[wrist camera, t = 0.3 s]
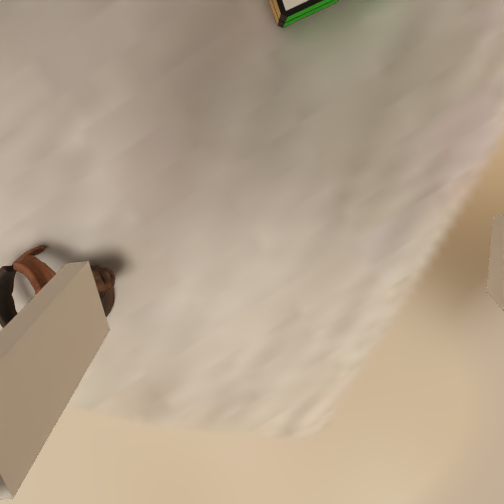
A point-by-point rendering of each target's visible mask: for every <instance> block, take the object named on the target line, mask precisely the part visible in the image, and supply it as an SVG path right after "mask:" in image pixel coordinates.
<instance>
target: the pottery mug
mask: <svg viewBox="0 0 504 504" xmlns="http://www.w3.org/2000/svg"><path fill="white" fill-rule="evenodd" d="M44 249H45V246H41V247H37V248H34V249H32V250H29V251H27V252H26V253H24V254H23V255H22V256H21V257H20V258H18V259H17V260H16V261H15V262H14V263H13V265H12V266H3V267H1V268H0V324H1V326H2V327H3V328H4V327H5V326H6V325H7V324H8V323H9V322H10V321H11V320H12V319H13V318H14V317H15V316H16V315H17V312H16V310H15V305H14V300H13V297H12V292H13V287H14V277H15V273H16V271H19V272H21V273H23V274H24V275H25V276H26V277H27V278H28V280H29V281H30V283H31V285H32V286H33V288H34V290H35V294H37V293H38V292H39V291H40V290H41V289H42V288H43V287H44V286H45V285H46V284H47V283H48V282H49V281H50V280H51V279H52V278H53V277H54V276H55V275H56V273H55V272H54V271H53V270H52V269H50V268H49V267H48V266H47V265H46V264H45V263H43V262H41V261H40V260H39V259H37V258H36V257H34V255H37V254H39V253H41V252H43V251H44ZM90 267H91V271H92V274H93V277H94V280H95V284H96V287H97V290H98V293H99V296H100V300H101V303H102V306H103V309H104V313H105V316H106V317H107V315H108V314H109V313H110V311H111V308H112V306H113V302H114V288H113V286H114V283H115V276H114V275H113V272H112V271H111V270H110V269H108V268H100V267H98V266H96V265H94V266H90Z"/></svg>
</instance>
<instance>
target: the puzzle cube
mask: <svg viewBox="0 0 504 504" xmlns="http://www.w3.org/2000/svg"><path fill="white" fill-rule="evenodd" d="M337 1H339V0H269V3H270V6H271V8H272V11H273V14H274V17H275V20H276V23H277V25H278V26H280V27H282V28H283V27H285V26H287V25H290V24H292V23H294V22H296V21H298V20H300V19H302V18H305V17H307V16H309V15H311V14H313V13H315V12H317V11H320V10H322V9H324V8H326V7H328V6H330V5H332V4H335V3H336V2H337Z"/></svg>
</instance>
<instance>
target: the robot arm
mask: <svg viewBox="0 0 504 504" xmlns="http://www.w3.org/2000/svg"><path fill="white" fill-rule="evenodd" d="M487 294H488V295H489V296H490V297H491V298H492V299H493V300H494V301H495V302H496V303H497V304H498V305H499V306H500V308H502V310H504V215H495V216H494V217H493V228H492V239H491V250H490V260H489V271H488V283H487ZM109 330H110V329H109V326H108V322H107V319H106V316H105V313H104V309H103V306H102V303H101V300H100V296H99V293H98V290H97V287H96V284H95V280H94V277H93V274H92V271H91V267H90V264H89V261H83V262H74V263H66V264H65V265H64V266H63V268H62V269H61V270H60V271H59V272H58V273H57V274H56V275H55V276H54V277H53V278H52V279H51V280H50V281H49V282H48V283H47V284H46V285H45V286H44V287H43V288H42V289H41V290H40V291H39V292H38V293H37V294H36V295H35V296H34V297H33V298H32V299H31V300H30V301H29V303H28V304H27V305H26V306H25V307H24V308H23V309H22V310H21V311H20V312H19V313H18V314H17V315H16V316H15V317H14V318H13V319H12V320H11V321H10V322H9V323H8V324H7V325H6V326H5V327H4V328H3V329H2V330H1V331H0V499H13V498H14V496H15V494H16V493H17V491H18V489H19V487H20V486H21V484H22V482H23V480H24V479H25V477H26V475H27V473H28V471H29V470H30V468H31V466H32V465H33V463H34V461H35V459H36V458H37V456H38V454H39V452H40V450H41V449H42V447H43V445H44V443H45V442H46V440H47V438H48V437H49V435H50V433H51V432H52V429H53V428H54V426H55V425H56V423H57V421H58V419H59V417H60V416H61V414H62V412H63V411H64V409H65V407H66V405H67V404H68V402H69V400H70V398H71V397H72V395H73V393H74V391H75V390H76V388H77V386H78V384H79V383H80V381H81V379H82V377H83V376H84V374H85V372H86V371H87V369H88V367H89V365H90V364H91V362H92V360H93V358H94V357H95V355H96V353H97V351H98V350H99V348H100V346H101V344H102V343H103V341H104V339H105V337H106V336H107V334H108V332H109Z"/></svg>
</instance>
